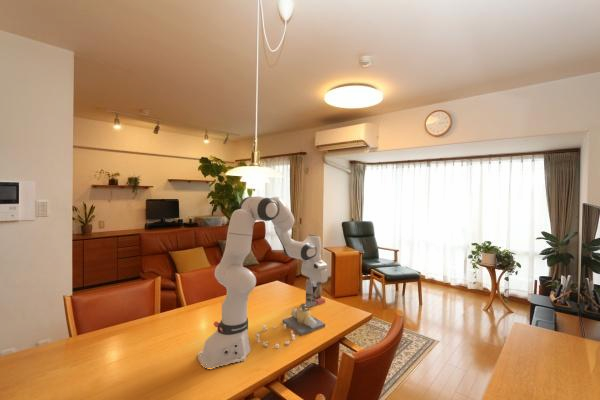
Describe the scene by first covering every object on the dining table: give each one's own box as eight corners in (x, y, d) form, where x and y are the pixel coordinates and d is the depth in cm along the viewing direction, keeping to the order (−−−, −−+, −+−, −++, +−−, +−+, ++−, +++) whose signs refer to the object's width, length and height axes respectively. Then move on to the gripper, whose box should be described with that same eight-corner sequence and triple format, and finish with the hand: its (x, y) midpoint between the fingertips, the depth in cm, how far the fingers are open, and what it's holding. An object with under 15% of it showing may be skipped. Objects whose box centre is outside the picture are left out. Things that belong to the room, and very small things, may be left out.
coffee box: (313, 306, 170) (313, 281, 170) (305, 304, 174) (305, 279, 174) (321, 302, 177) (321, 277, 177) (313, 299, 181) (313, 275, 181)
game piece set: (250, 333, 139) (250, 326, 139) (286, 325, 148) (286, 317, 148) (263, 353, 121) (263, 345, 121) (302, 342, 131) (303, 334, 130)
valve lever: (303, 309, 145) (303, 306, 145) (299, 307, 148) (299, 304, 148) (325, 303, 155) (325, 299, 154) (321, 301, 157) (321, 297, 157)
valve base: (301, 335, 136) (301, 317, 136) (282, 322, 150) (282, 306, 150) (325, 326, 146) (325, 309, 145) (305, 314, 159) (305, 299, 159)
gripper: (298, 259, 165) (298, 282, 166) (320, 267, 149) (320, 292, 149) (307, 257, 169) (307, 280, 169) (329, 265, 152) (329, 289, 153)
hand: (313, 285), depth 159 cm, fingers closed
